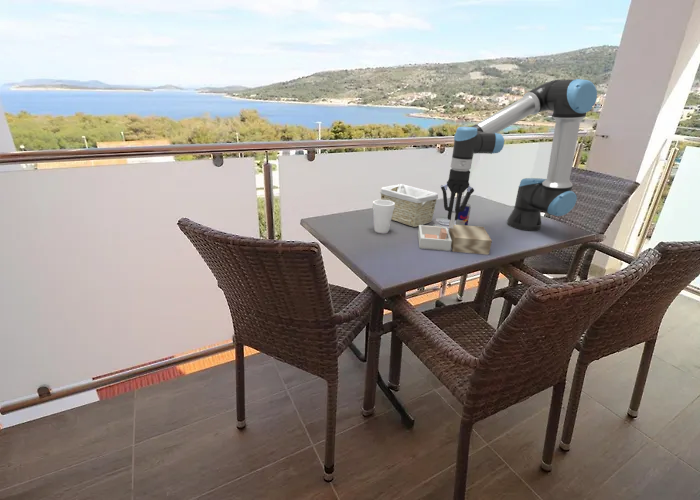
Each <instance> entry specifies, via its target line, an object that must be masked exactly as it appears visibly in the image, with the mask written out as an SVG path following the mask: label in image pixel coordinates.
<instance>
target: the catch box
mask: <svg viewBox="0 0 700 500" xmlns="http://www.w3.org/2000/svg"><path fill="white" fill-rule="evenodd" d="M441 228H442V229H446V232H447V235H446V238H445V239H433V238H425V234H432V235H437V238H439V234H440V230H441ZM448 228H449V227H447V226H435V225H426V224H424V225H419V226H418V231H417V239H418V247H419V250H420V249H421V250H432V251H442V252H443V251H444V252H451V250H452V248H451V242H452V240H451V237H450V234H449V229H448Z"/></svg>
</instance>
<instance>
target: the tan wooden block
mask: <svg viewBox="0 0 700 500" xmlns="http://www.w3.org/2000/svg"><path fill="white" fill-rule="evenodd" d="M448 228H449V227H448ZM448 231H449V234H450V237H451V240H452V242H451V251H452V252H454V253H455V252H456V253H466V254H477V255H485V256H486V255H490V251H491V247H492V242H493V240H492V239H491V237H490V235H489V233H488V232H487V231H486V229H485V227H484V226H478V225H475V226H474V225H468V226H467V225H455V224H454V227H453V228H449V229H448Z"/></svg>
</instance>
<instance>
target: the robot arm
mask: <svg viewBox="0 0 700 500" xmlns="http://www.w3.org/2000/svg"><path fill="white" fill-rule="evenodd" d="M597 99H598V91H597V87H596V85H594V82H592V81H591V80H588V79H582V78H576V79H571V78H570V79H552V80H550V81H547V82H545V83H543V84H540V85H539V86H537V87H535V88H533V89H531V90H529V91H527V92H526V93H525V94H524V95H523V97H522V98H520V99H518V100H517V101H515V102H513V103H511V104H510V105H509V104H508V105H507V106H506V107H503V108H502V109H501V110H498V111H497V112H495V113H493V114H492V115H489V116H488V117H486V118H484V119H483V120H480V121H479V122H477V123H476V124H474V125H472V126H458V127H457V128H456V130H455V133H454V137H453V140H454V143H453V151H452V156H451V162H450V168H451V169H450V170H449V175H448V180H447V181H446V184H444V185H442V184H441V185H440V189H441V191H442V196H443V197H442V199H443V200H442V201H443V208H444V210H445V211H447V220H448V221H449V222H448V228H453V227H454V225H455V222H456V220H457V219H458V213H459V212H463V211H464V209H465V207H466V204H468V202H469V199H470V197H471V196H472V194H473V193H474V192H475V188H474V187H472V186H471V185H470V182H469V180H470V176H471V171H470V170H471V168H472V163H473V157H474V154H485V155H486V154H490V155H492V154H499V153H500V152H502V150H503V148H504V145H505V137H504V136H503V135H502V134H501V133H500V132H502V131H503V130H505V129H508V128H509V127H511V126H512V125H514V124H516V123H518V122H520V121H521V120H523V119H524V118H527V117H528V116H532V115H533V116H534V115H537V114H539V113H541V112H546V111H552V115H551V116H552V119H554V122H555V125H554V131H553V138H552V142H551V150H550V155H549V162H548V163H549V164H548V168H547V175H546V178H538V177H537V178H535V177H526V178H522V179H521V180H520V182H519V186H518V189H517V194H516V199H515V204H514V206H513V207H514V208H513V210H512V211H511V213H510V214H509V216H508V217H507V220H506V221H507V222H506V224H507V225H508V226H509V227H511V228H514V229H516V230H517V229H518V230H521V231H528V232H529V231H530V232H531V231H534V232H535V231H540V230H541V228H542V216H541V215H542V214H541V212H544V213H547V214H549V215H550V216H551V215H552V216H555V217H562V216H566V215H567V214H568V213H570V212H571V211H572V210H573V209H574V208H575V205H576V202H577V199H578V196H577V194H576V193H575V192H574V191H573V185H574V184H573V183H572V182H571V180H570V179H571V173H572V169H573V164H574V159H575V158H574V157H575V152H576V148H577V147H576V146H577V142H578V136H579V132H580V131H579V130H580V126H581V125H580V124H581V121H583V120H584V119H585V118H586V117H587V113H588V112H590V111H592V109H593V107H594V106H595V105H596V102H597ZM448 189H449V191H450V198H449V204H448V195H447V194H448V193H447V190H448ZM465 191H466V194H465V195H464V198H463V200H462V196H463V193H465ZM456 194H457V195H456ZM455 196H457V197H455ZM455 198H456V200H455ZM461 201H462V202H461ZM454 203H455V207H454ZM460 203H462V204H461V207H460ZM453 208H454V210H453Z"/></svg>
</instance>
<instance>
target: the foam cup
mask: <svg viewBox="0 0 700 500" xmlns="http://www.w3.org/2000/svg"><path fill="white" fill-rule="evenodd" d="M394 206H395V203H394V202H392V201H389V200H381V199H376V200H373V201H372V213H373V229H374V230H373V231H374V232H375V233H378V234H387V233H389V230H390V227H391V222H392V220H391V219H392V214H393V210H394Z"/></svg>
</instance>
